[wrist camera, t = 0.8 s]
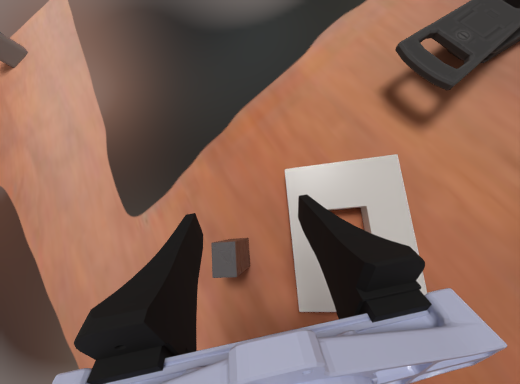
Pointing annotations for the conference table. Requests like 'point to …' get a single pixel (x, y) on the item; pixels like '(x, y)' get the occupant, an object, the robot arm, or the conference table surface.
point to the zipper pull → (463, 39)
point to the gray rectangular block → (230, 257)
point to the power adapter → (11, 51)
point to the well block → (344, 197)
